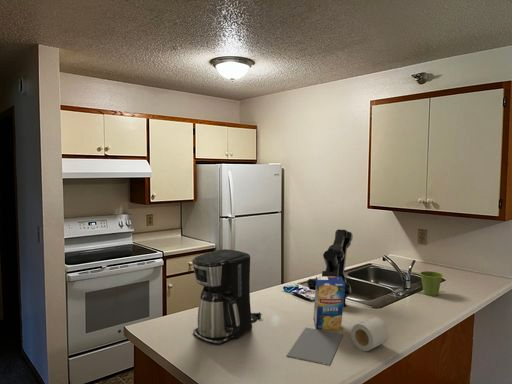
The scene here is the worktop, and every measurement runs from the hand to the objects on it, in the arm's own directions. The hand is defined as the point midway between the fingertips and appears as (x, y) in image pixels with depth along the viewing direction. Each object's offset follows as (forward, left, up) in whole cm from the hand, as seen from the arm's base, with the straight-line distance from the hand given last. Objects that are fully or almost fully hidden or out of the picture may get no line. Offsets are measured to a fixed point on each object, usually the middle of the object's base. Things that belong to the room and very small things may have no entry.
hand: (325, 304), depth 164 cm
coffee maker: (+40, +1, -11) cm, 41 cm away
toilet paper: (-13, +17, -11) cm, 24 cm away
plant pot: (-67, -39, -11) cm, 78 cm away
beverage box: (-1, -2, -10) cm, 10 cm away
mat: (+7, +16, -10) cm, 20 cm away
